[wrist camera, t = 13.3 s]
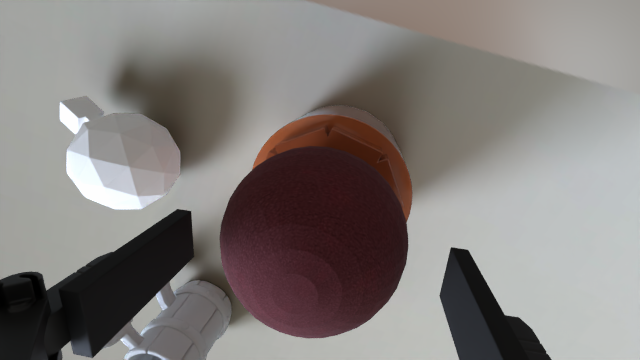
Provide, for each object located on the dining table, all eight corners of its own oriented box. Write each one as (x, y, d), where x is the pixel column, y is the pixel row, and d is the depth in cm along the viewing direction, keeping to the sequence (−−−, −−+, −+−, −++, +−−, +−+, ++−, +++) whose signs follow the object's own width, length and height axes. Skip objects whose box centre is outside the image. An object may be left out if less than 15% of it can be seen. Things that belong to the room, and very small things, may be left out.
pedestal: (425, 139, 28) (451, 167, 19) (365, 242, 32) (364, 304, 23) (306, 82, 28) (277, 84, 19) (261, 192, 32) (220, 236, 24)
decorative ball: (244, 237, 24) (162, 340, 14) (278, 111, 20) (200, 138, 11) (368, 283, 23) (366, 420, 14) (423, 162, 20) (471, 235, 11)
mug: (202, 338, 40) (136, 439, 29) (142, 267, 38) (46, 347, 27) (247, 316, 38) (194, 417, 27) (185, 240, 36) (101, 314, 24)
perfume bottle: (213, 145, 30) (122, 62, 30) (124, 189, 22) (5, 79, 23) (189, 197, 35) (112, 127, 35) (111, 247, 28) (15, 157, 28)
